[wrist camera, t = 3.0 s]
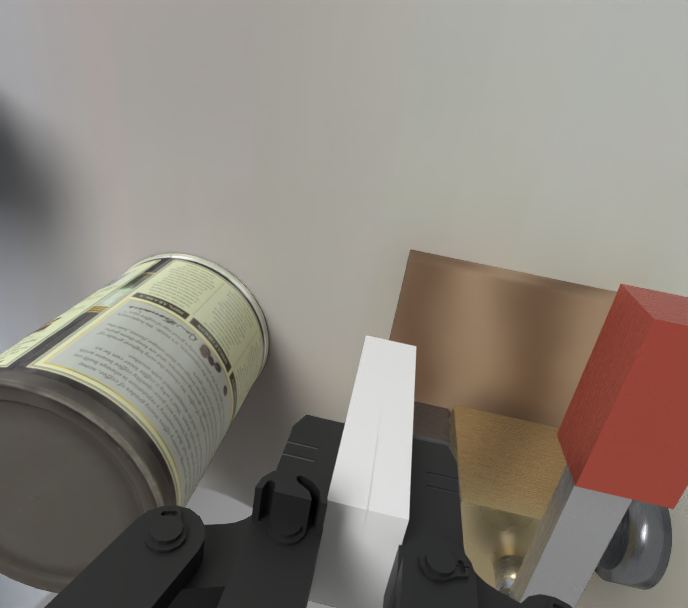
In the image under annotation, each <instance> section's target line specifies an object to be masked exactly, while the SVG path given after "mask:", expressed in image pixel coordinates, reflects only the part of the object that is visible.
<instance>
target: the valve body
mask: <svg viewBox="0 0 688 608" xmlns="http://www.w3.org/2000/svg"><path fill="white" fill-rule="evenodd" d="M558 430H559V428H557V427H552V426H548V425H544V424H539V423H535V422H530V421H526V420H521V419H517V418H512V417H508V416H504V415H499V414H495V413H490V412H486V411H481V410H477V409H472V408H468V407H464V406H459V405H455V404H454V405H453V408H452V411H451V415H450V418H449V411H448V408H443V407H439V406H434V405H430V404H426V403H421V402H417V401H414V413H413V437H412V438H415V439H420V440H424V441H428V442H433V443H437V444H441V445H446V446H448V447H449V449H450V451H451V452H452V454H453V456H454V458H455V459H456V461H457V465H458V478H459V479H458V482H459V491H460V493H459V496H460V504H461V517H462V530H463V543H464V550H465V554H466V556H467V557H468V558H469V560H470V561H471V562H472V566H473V569H474V571H475V572H476V573H477V575H478V576H479V577H481V578H482V579H483V580H484V581H485V582H486V583H487V584H489V585H490V586H492V587H493V588H495V589H496V590H498V591H499V590H502V589H506V588H511V587H512V585H513V582H514V580H515V578H516V576H517V574H518V571H519V569H520V567H521V565H522V562H523V560H524V558H525V556H526V553H527V551H528V549H529V547H530V545H531V542H532V540H533V538H534V536H535V533H536V531H537V529H538V527H539V525H540V522H541V520H542V518H543V516H544V513H545V511H546V509H547V507H548V504H549V502H550V500H551V498H552V496H553V493H554V491H555V489H556V487H557V484H558V482H559V480H560V478H561V476H562V473H563V471H564V469H565V467H566V464H567V462H566V459H565V456H564V454H563V451H562V448H561V445H560V443H559V440H558V437H557V432H558ZM671 546H672V528H671V520H670V515H669V511H668V508H667V507H663V506H658V505H654V504H650V503H645V502H641V501H637V500H632V501H631V503H630V505H629V507H628V509H627V511H626V512H625V514H624V516H623V518H622V520H621V522H620V524H619V525H618V527H617V529H616V531H615V533H614V535H613V537H612V538H611V540H610V542H609V544H608V546H607V548H606V550H605V551H604V553H603V555H602V557H601V559H600V561H599V563H598V565H597V566H596V568H595V571H596V573H597V574H598V575H599V576H600V577H601V578H602V579H603V580H606V581H609V582H613V583H617V584H622V585H626V586H630V587H634V588H638V589H643V590H645V589H650V588H652V587H654V586H655V585H656V584H657V583H658V582H659V581H660V580H661V578H662V577H663V575H664V573H665V571H666V568H667V566H668V562H669V558H670V553H671Z"/></svg>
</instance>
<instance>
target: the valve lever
mask: <svg viewBox="0 0 688 608" xmlns="http://www.w3.org/2000/svg"><path fill="white" fill-rule="evenodd" d="M557 437H558V440H559V443H560V445H561V448H562V451H563V454H564V456H565V459H566V462H567V464H566V467H565V469H564V471H563V473H562V476H561V478H560V480H559V482H558V484H557V487H556V489H555V491H554V493H553V496H552V498H551V500H550V502H549V504H548V507H547V509H546V511H545V513H544V516H543V518H542V520H541V522H540V525H539V527H538V529H537V531H536V533H535V536H534V538H533V540H532V542H531V545H530V547H529V549H528V551H527V553H526V556H525V558H524V560H523V562H522V565H521V567H520V569H519V571H518V574H517V576H516V578H515V580H514V582H513V585H512V587H511V588H506V589H502V590H499V591H500V592H501V593H503V594H505V595H507V596H509V597H510V598H512V599H514V600H516V601H518V602H520V603H522V602H523V601H524V600H525V599H526V598H527V597H528V596H533V595H538V594H543V595H548V596H552V597H556V598H558V599H560V600H561V601H563V602H565V603H567V604H569V605H570V606H572V607H573V608H574V607H575V605H576V604H577V602H578V600H579V598H580V596H581V594H582V592H583V591H584V589H585V587H586V585H587V583H588V581H589V579H590V578H591V576H592V574H593V572H594V570H595V568H596V566H597V565H598V563H599V561H600V559H601V557H602V555H603V553H604V551H605V550H606V548H607V546H608V544H609V542H610V540H611V538H612V537H613V535H614V533H615V531H616V529H617V527H618V525H619V524H620V522H621V520H622V518H623V516H624V514H625V512H626V511H627V509H628V507H629V505H630V503H631V501H632V500H637V501H641V502H645V503H650V504H654V505H658V506H663V507H667V508H671V509H674V508H675V506H676V504H677V502H678V501H679V499H680V497H681V496H682V494H683V492H684V491H685V489H686V487H687V485H688V297H683V296H678V295H673V294H668V293H664V292H659V291H654V290H649V289H644V288H639V287H634V286H630V285H625V284H620V287H619V289H618V291H617V294H616V296H615V299H614V301H613V303H612V306H611V308H610V310H609V313H608V315H607V317H606V320H605V322H604V324H603V327H602V329H601V331H600V334H599V336H598V338H597V341H596V343H595V346H594V348H593V350H592V353H591V355H590V357H589V360H588V362H587V364H586V367H585V369H584V371H583V374H582V376H581V378H580V381H579V383H578V385H577V388H576V390H575V393H574V395H573V397H572V400H571V402H570V404H569V407H568V409H567V411H566V414H565V416H564V418H563V421H562V423H561V425H560V428H559V430H558V432H557Z"/></svg>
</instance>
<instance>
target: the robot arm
mask: <svg viewBox="0 0 688 608" xmlns="http://www.w3.org/2000/svg"><path fill="white" fill-rule="evenodd" d="M415 366H416V346H412V345H408V344H403V343H399V342H394V341H389V340H385V339H380V338H376V337H371V336H367V335H366V338H365V342H364V347H363V351H362V355H361V359H360V363H359V368H358V372H357V376H356V380H355V384H354V388H353V393H352V397H351V401H350V405H349V409H348V414H347V418H346V422H345V424H344V423H340V422H336V421H331V420H327V419H323V418H319V417H314V416H310V415H306V416H305V417H303V418H302V419H301V420H300V421H299V422H297V423H296V424H295V425H294V426H293V428H292V431H291V434H290V436H289V439H288V442H287V444H286V447H285V449H284V452H283V455H282V457H281V460H280V462H279V465H278V467H277V470H276V471H273V472H271V473H270V474H268V475H266V476H264V477H263V478H262V479H261V480H260V482H259V483H258V484H257V486H256V488H255V496H254V504H253V513H252V515H251V516H250V517H248V518H246V519H244V520H241V521H238V522H236V523H229V524H215V525H204V524H203V522H202V520H201V518H200V516H198V515H197V514H196V513H195V512H193V511H192V510H190V509H188V508H184V507H181V506H177V505H176V506H161V507H158V508H155V509H152V510H149V511H147V512H146V513H144V514H143V515H141V516H140V517H138V518H137V519H136V520H135V521H134V522H133V523H132V524H131V525H130V526H128V527H127V528H126V529H125V530H124V531H123V532H122V533H121V534H120V535H119V536H118V537H117V538H116V539H115V540H114V541H113V542H112V543H111V544H110V545H109V546H108V547H107V548H106V549H105V550H104V551H103V552H102V553H100V554H99V555H98V556H97V557H96V558H95V559H94V560H93V561H92V562H91V563H90V564H89V565H88V566H87V567H86V568H85V569H84V570H83V571H82V572H81V573H80V574H79V575H78V576H77V577H76V578H75V579H74V580H73V581H71V582H70V583H69V584H68V585H67V586H66V587H65V588H64V589H63V590H62V591H61V592H60V593H59V594H58V595H57V596H56V597H55V598H54V599H53V600H52V601H51V602H50V603H49V604H48V605H47V606H46V607H45V608H306V607H307V603H308V601H312V602H316V603H320V604H324V605H328V606H331V607H336V608H573V607H572V606H570V605H569V604H567V603H565V602H563V601H561V600H560V599H558V598H556V597H552V596H548V595H543V594H538V595H533V596H528V597H527V598H526V599H525V600H524V601H523V602H522V603H520V602H518V601H516V600H514V599H512V598H510V597H509V596H507V595H505V594H503V593H501V592H500V591H498V590H496V589H495V588H493V587H492V586H490V585H489V584H487V583H486V582H485V581H484V580H483V579H482V578H481V577H479V576H478V575H477V573H476V572H475V571H474V569H473V566H472V562H471V561H470V560H469V558H468V557H467V556H466V554H465V550H464V543H463V530H462V517H461V504H460V496H459V493H460V491H459V482H458V479H459V478H458V465H457V461H456V459H455V458H454V456H453V454H452V452H451V451H450V449H449V447H448V446H446V445H441V444H437V443H433V442H428V441H424V440H420V439H415V438H412V437H413V413H414V390H415Z"/></svg>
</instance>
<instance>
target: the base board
mask: <svg viewBox="0 0 688 608" xmlns="http://www.w3.org/2000/svg"><path fill="white" fill-rule="evenodd" d="M616 294H617V292H613V291H608V290H603V289H598V288H594V287H589V286H584V285H579V284H574V283H570V282H565V281H560V280H555V279H550V278H545V277H541V276H536V275H531V274H526V273H521V272H516V271H512V270H507V269H502V268H497V267H492V266H487V265H483V264H478V263H473V262H468V261H463V260H458V259H454V258H449V257H444V256H439V255H434V254H429V253H425V252H420V251H415V250H410V253H409V258H408V262H407V266H406V270H405V275H404V279H403V283H402V288H401V292H400V296H399V300H398V305H397V309H396V313H395V318H394V322H393V326H392V330H391V335H390V339H389V341H394V342H399V343H403V344H408V345H412V346H416V366H415V390H414V401H417V402H421V403H426V404H430V405H434V406H439V407H443V408H448V411H449V418H450V415H451V411H452V408H453V405H454V404H455V405H459V406H464V407H468V408H472V409H477V410H481V411H486V412H490V413H495V414H499V415H504V416H508V417H512V418H517V419H521V420H526V421H530V422H535V423H539V424H544V425H548V426H552V427H557V428H560V425H561V423H562V421H563V418H564V416H565V414H566V411H567V409H568V407H569V404H570V402H571V400H572V397H573V395H574V393H575V390H576V388H577V385H578V383H579V381H580V378H581V376H582V374H583V371H584V369H585V367H586V364H587V362H588V360H589V357H590V355H591V353H592V350H593V348H594V346H595V343H596V341H597V338H598V336H599V334H600V331H601V329H602V327H603V324H604V322H605V320H606V317H607V315H608V313H609V310H610V308H611V306H612V303H613V301H614V299H615V296H616Z"/></svg>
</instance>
